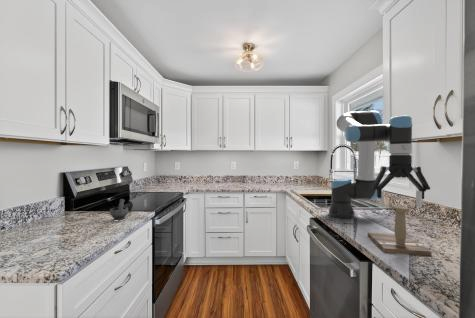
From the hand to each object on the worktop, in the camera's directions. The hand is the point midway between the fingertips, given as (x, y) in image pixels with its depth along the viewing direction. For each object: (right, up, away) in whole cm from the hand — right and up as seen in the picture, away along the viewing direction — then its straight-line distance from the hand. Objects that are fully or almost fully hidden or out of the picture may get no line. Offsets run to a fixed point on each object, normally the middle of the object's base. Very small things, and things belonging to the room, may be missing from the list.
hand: (399, 206), depth 97 cm
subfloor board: (+1, -17, +4) cm, 17 cm away
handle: (0, -15, 0) cm, 15 cm away
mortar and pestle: (-138, -18, +47) cm, 147 cm away
